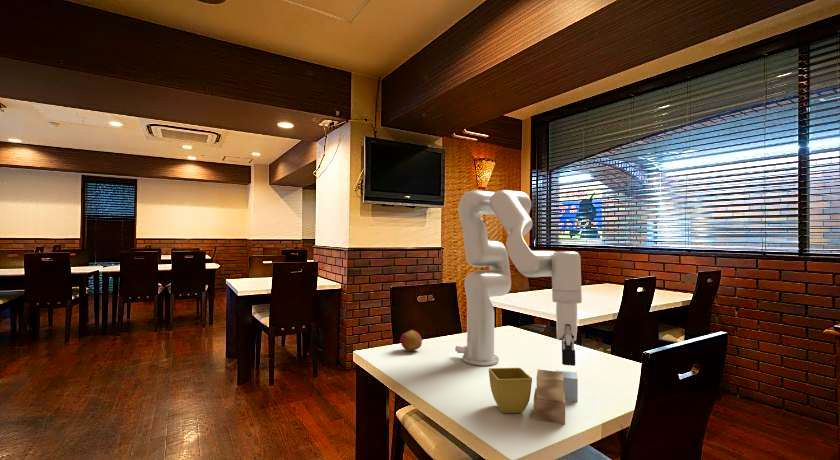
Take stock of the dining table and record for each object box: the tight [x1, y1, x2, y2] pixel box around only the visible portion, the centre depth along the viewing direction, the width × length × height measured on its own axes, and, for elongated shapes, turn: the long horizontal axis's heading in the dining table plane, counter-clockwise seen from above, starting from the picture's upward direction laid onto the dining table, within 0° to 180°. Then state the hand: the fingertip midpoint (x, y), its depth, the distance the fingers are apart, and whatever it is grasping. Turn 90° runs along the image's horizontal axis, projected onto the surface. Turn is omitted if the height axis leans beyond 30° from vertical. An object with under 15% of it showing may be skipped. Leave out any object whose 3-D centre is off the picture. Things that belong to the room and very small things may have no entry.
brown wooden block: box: [533, 387, 566, 425], centre depth 94 cm, size 7×7×5 cm
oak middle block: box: [536, 368, 564, 402], centre depth 94 cm, size 6×6×5 cm
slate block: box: [555, 369, 579, 402], centre depth 106 cm, size 6×6×6 cm
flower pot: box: [488, 367, 533, 414], centre depth 98 cm, size 9×9×9 cm
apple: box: [399, 329, 423, 352], centre depth 148 cm, size 8×8×8 cm
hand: (568, 360), depth 106 cm, fingers open, 9 cm apart
